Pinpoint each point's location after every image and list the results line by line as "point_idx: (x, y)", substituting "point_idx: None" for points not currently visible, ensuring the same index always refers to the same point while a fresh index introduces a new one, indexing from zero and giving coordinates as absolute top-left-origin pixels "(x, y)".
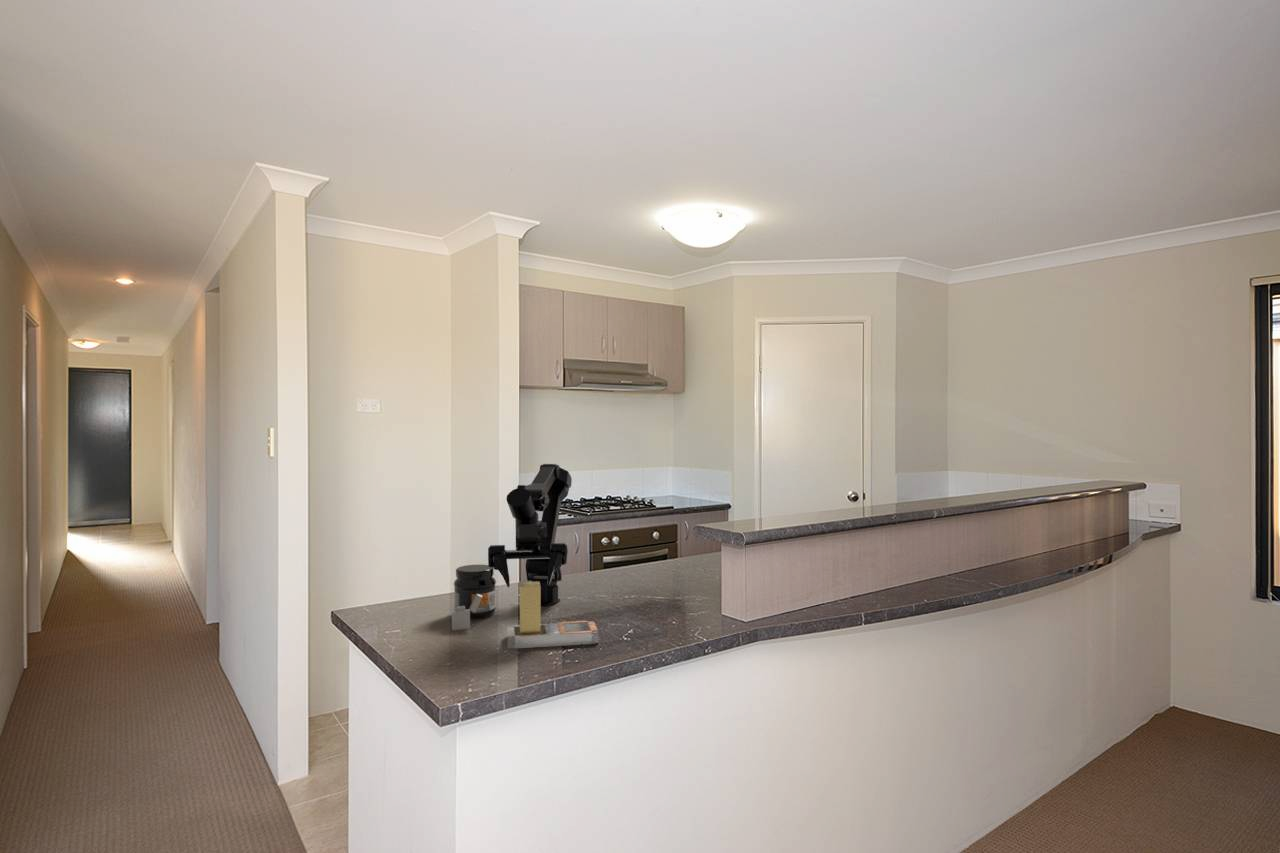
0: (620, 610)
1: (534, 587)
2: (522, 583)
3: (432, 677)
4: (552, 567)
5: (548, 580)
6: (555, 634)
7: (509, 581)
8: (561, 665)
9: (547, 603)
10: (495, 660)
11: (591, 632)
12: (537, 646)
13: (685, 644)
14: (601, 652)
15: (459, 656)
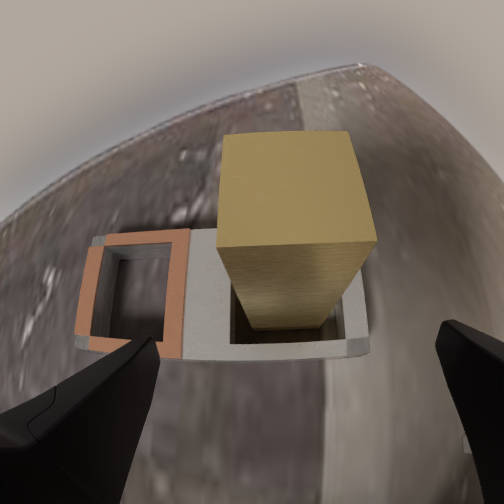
0: None
1: (261, 137)
2: (350, 204)
3: (434, 128)
4: (44, 397)
5: (139, 344)
6: (204, 233)
7: (455, 330)
8: (218, 136)
9: None
10: None
11: (108, 235)
12: None
13: (3, 227)
14: (122, 194)
15: (440, 208)
